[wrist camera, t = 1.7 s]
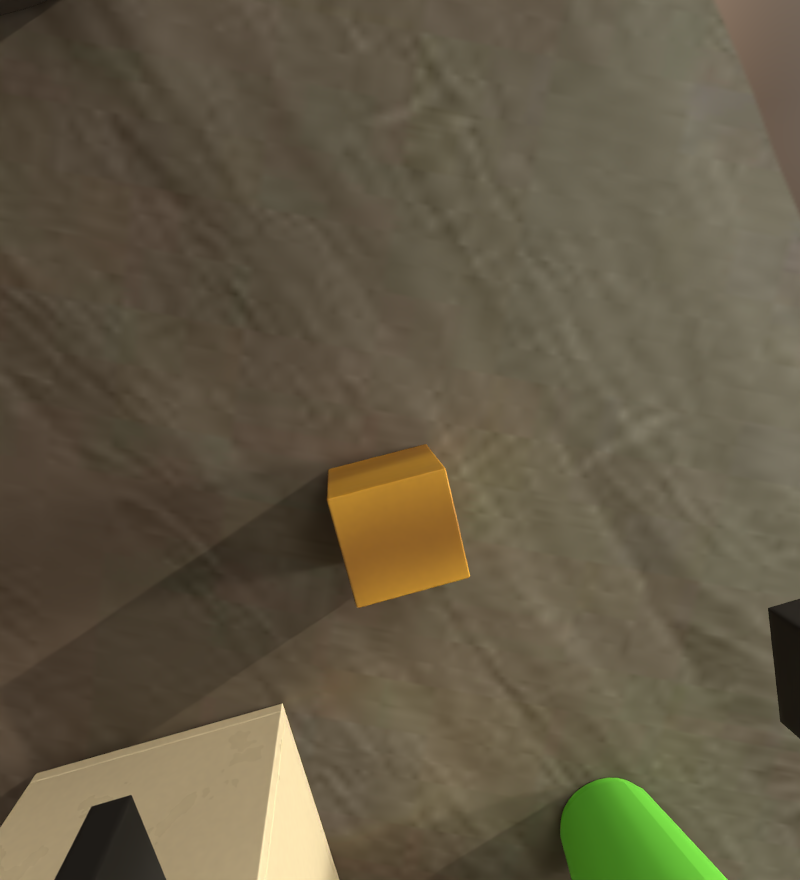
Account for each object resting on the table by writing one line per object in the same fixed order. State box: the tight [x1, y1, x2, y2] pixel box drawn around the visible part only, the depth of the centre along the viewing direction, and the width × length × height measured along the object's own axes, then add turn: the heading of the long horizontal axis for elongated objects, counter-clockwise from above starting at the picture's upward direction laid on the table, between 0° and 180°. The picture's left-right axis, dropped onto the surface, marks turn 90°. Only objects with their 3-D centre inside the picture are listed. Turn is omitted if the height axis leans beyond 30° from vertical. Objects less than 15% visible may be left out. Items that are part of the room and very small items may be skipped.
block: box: [327, 444, 470, 608], centre depth 23 cm, size 4×4×4 cm
